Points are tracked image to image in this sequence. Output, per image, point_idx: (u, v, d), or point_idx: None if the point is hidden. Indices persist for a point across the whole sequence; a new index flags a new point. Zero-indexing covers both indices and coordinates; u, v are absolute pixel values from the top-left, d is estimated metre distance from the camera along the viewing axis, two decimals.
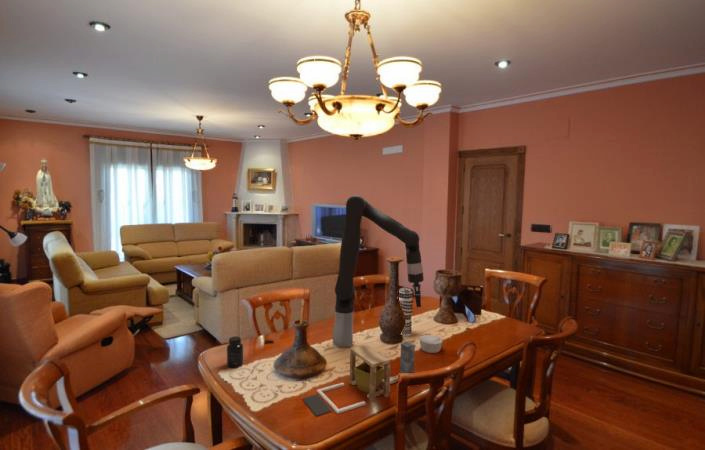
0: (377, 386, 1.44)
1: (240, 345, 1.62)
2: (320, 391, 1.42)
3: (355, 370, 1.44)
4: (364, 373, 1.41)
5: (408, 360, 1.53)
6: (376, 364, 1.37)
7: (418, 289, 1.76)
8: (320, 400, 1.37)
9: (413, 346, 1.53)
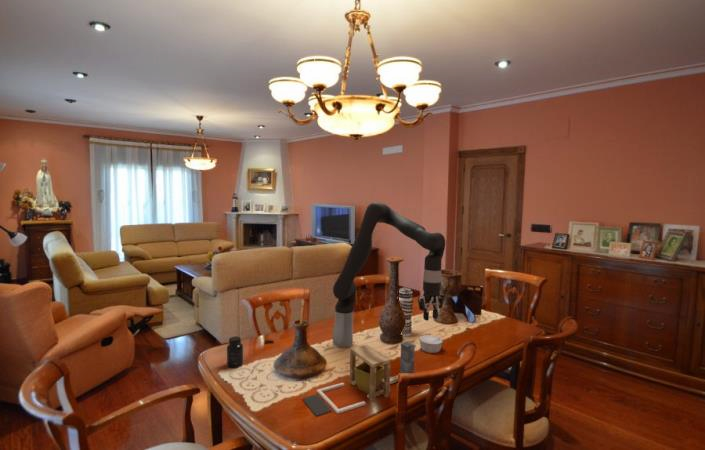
0: (377, 386, 1.44)
1: (240, 345, 1.62)
2: (320, 391, 1.42)
3: (355, 370, 1.44)
4: (364, 373, 1.41)
5: (408, 360, 1.53)
6: (376, 364, 1.37)
7: (420, 301, 1.55)
8: (320, 400, 1.37)
9: (413, 346, 1.53)
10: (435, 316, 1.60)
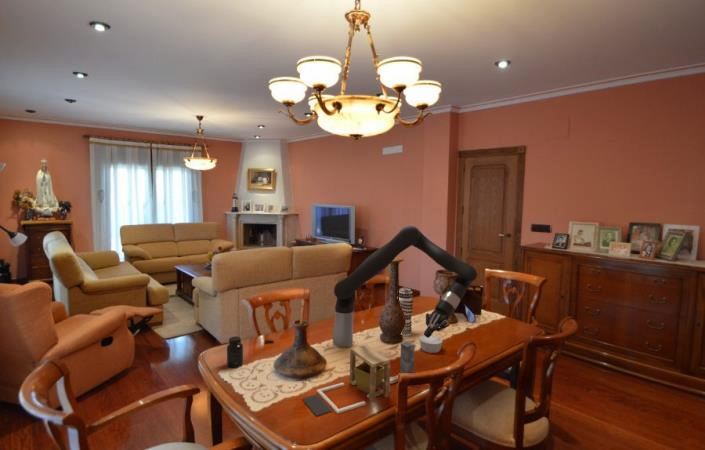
0: (377, 386, 1.44)
1: (240, 345, 1.62)
2: (320, 391, 1.42)
3: (355, 370, 1.44)
4: (364, 373, 1.41)
5: (408, 360, 1.53)
6: (376, 364, 1.37)
7: (446, 326, 1.57)
8: (320, 400, 1.37)
9: (413, 346, 1.53)
10: None
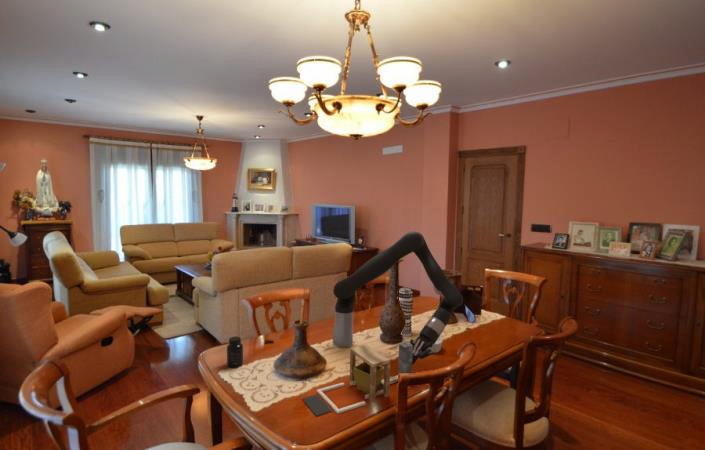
0: (376, 386, 1.44)
1: (240, 345, 1.62)
2: (320, 391, 1.42)
3: (354, 370, 1.44)
4: (363, 373, 1.41)
5: (406, 360, 1.52)
6: (376, 364, 1.37)
7: (430, 354, 1.54)
8: (320, 400, 1.37)
9: (411, 347, 1.53)
10: None
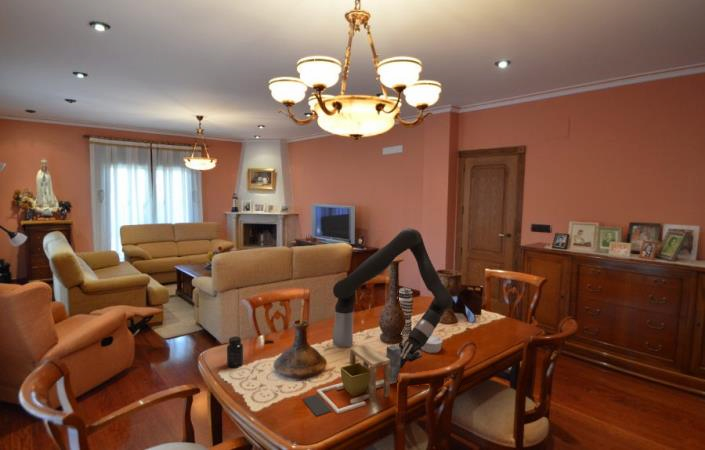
0: (362, 389, 1.41)
1: (240, 345, 1.62)
2: (320, 391, 1.42)
3: (341, 370, 1.44)
4: (347, 374, 1.40)
5: (393, 364, 1.49)
6: (376, 364, 1.37)
7: (418, 357, 1.51)
8: (320, 400, 1.37)
9: (399, 350, 1.50)
10: None
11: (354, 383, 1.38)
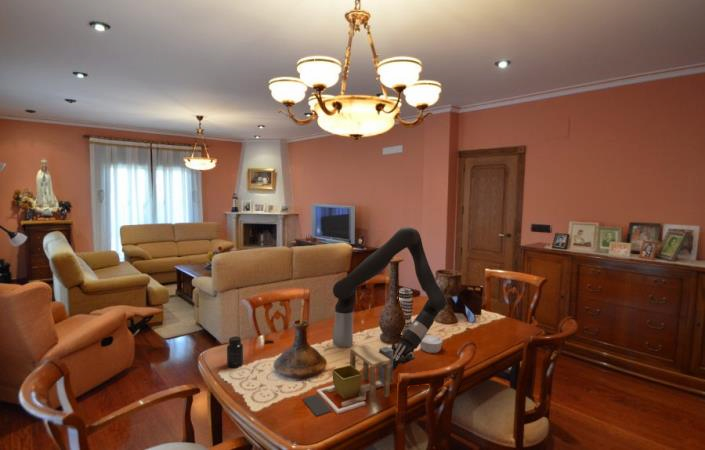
0: (353, 392, 1.39)
1: (240, 345, 1.62)
2: (320, 391, 1.42)
3: (332, 372, 1.42)
4: (338, 376, 1.38)
5: None
6: (376, 364, 1.37)
7: (411, 359, 1.49)
8: (320, 400, 1.37)
9: (391, 351, 1.48)
10: None
11: (346, 386, 1.36)
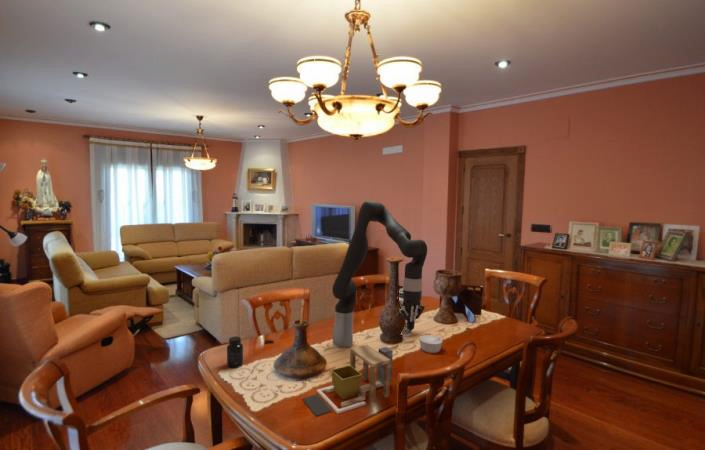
0: (352, 392, 1.39)
1: (240, 345, 1.62)
2: (320, 391, 1.42)
3: (331, 372, 1.42)
4: (337, 377, 1.38)
5: None
6: (376, 364, 1.37)
7: (401, 313, 1.50)
8: (320, 400, 1.37)
9: (391, 352, 1.47)
10: None
11: (345, 386, 1.36)
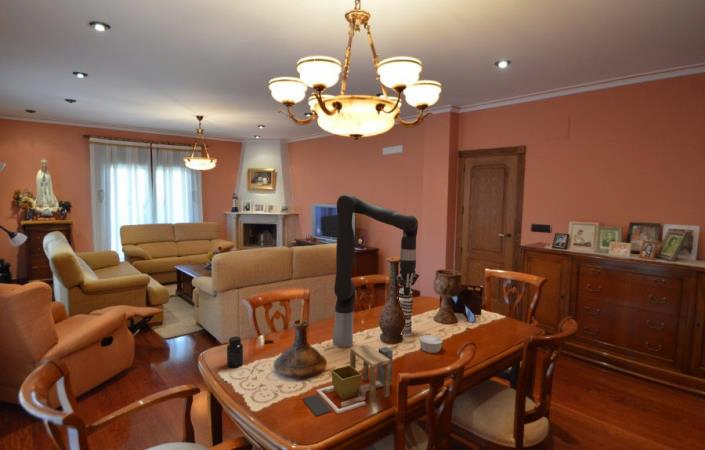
0: (352, 392, 1.39)
1: (240, 345, 1.62)
2: (320, 391, 1.42)
3: (331, 372, 1.42)
4: (337, 377, 1.38)
5: None
6: (376, 364, 1.37)
7: (398, 279, 1.72)
8: (320, 400, 1.37)
9: (391, 352, 1.47)
10: None
11: (345, 386, 1.36)
